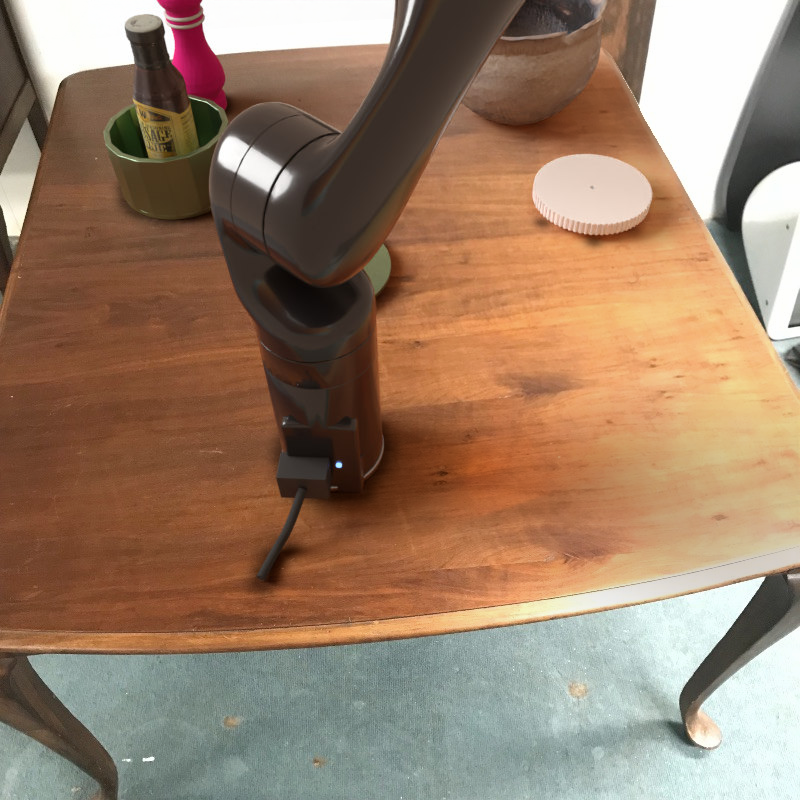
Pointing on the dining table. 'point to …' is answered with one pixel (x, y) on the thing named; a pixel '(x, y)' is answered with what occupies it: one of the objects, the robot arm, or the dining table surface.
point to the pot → (165, 164)
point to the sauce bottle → (159, 92)
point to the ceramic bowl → (539, 61)
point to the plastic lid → (592, 194)
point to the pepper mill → (194, 51)
